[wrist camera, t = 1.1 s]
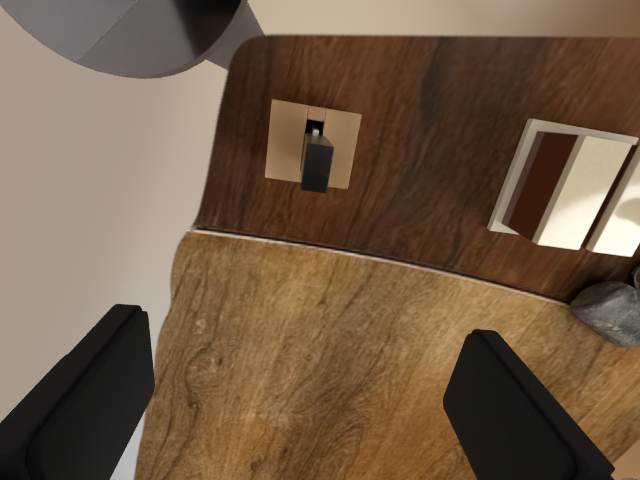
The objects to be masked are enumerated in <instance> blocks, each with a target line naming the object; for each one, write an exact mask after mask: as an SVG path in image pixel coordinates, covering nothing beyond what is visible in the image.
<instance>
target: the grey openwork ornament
mask: <svg viewBox="0 0 640 480" xmlns="http://www.w3.org/2000/svg"><path fill="white" fill-rule="evenodd" d="M631 274H632V279H633V280H634V282H633V284H634V286H635V287H636V289H638V290H640V264H639V265H638V266H637V267H636V268H634V270H633V271H632V273H631Z"/></svg>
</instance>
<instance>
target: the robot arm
mask: <svg viewBox="0 0 640 480" xmlns="http://www.w3.org/2000/svg"><path fill="white" fill-rule="evenodd" d="M154 387H155V380H154V370H153V360H152V350H151V339H150V330H149V319H148V314H147V312H146V311H142V309H141V307H140V306H138V305H125V304H116V305H115V306H113V307H112V308H111V309H110V310H109V311H108V312H107V313H106V314H105V315H104V316H103V318H102V319H101V320H100V321H99V322H98V323H97V324H96V325H95V326H94V327H93V328H92V329H91V330H90V331H89V333H88V334H87V335H86V336H85V337H84V338H83V339H82V340H81V341H80V342H79V343H78V344H77V345H76V347H74V349H73V350H72V351H71V352H70V353H69V354H67V355H65V356H64V357H63V358H62V359H61V360H60V361H59V362H58V363H57V364H56V365H55V366H54V367H53V368H52V369H51V370H50V371H49V372H48V373H47V374H46V375H45V376H44V378H43V379H42V380H41V381H40V382H39V383H38V384H37V385H36V386H35V387H34V388H33V389H32V390H31V391H30V392H29V393H28V394H27V395H26V396H25V397H24V399H23V400H22V401H21V402H20V403H19V404H18V405H17V406H16V407H15V408H14V409H13V410H12V411H11V412H10V413H9V415H7V416H6V418H5V419H4V420H3V421H2V422H1V423H0V480H110V477H111V476H112V474H113V472H114V470H115V468H116V466H117V464H118V462H119V460H120V458H121V456H122V454H123V452H124V450H125V448H126V446H127V444H128V442H129V441H130V439H131V436H132V435H133V433H134V431H135V429H136V427H137V425H138V423H139V421H140V419H141V417H142V415H143V413H144V411H145V409H146V407H147V405H148V403H149V401H150V400H151V397H152V395H153V392H154ZM443 406H444V409H445V412H446V414H447V416H448V418H449V420H450V422H451V425H452V427H453V429H454V431H455V433H456V435H457V437H458V439H459V442H460V444H461V446H462V448H463V450H464V452H465V454H466V456H467V458H468V461H469V463H470V465H471V467H472V469H473V471H474V473H475V475H476V478H477V480H614V479H613V478H612V476H611V474H612V472H613V471H614V470H615V468H614V466H613V465H612V464H611V463H610V462H609V461H608V459H607V458H606V457H605V456H604V455H603V454H602V452H601V451H600V450H599V449H598V448H597V447H596V446H595V444H594V443H593V442H592V441H591V440H590V439H589V437H588V436H587V435H586V434H585V433H584V432H583V431H582V429H581V428H580V427H579V426H578V425H577V424H576V422H575V421H574V420H573V419H572V418H571V417H570V416H569V414H568V413H567V412H566V411H565V410H564V409H563V407H562V406H561V405H560V404H559V403H558V402H557V401H556V399H555V398H554V397H553V396H552V395H551V394H550V392H549V391H548V390H547V389H546V388H545V387H544V386H543V384H542V383H541V382H540V381H539V380H538V379H537V377H536V376H535V375H534V374H533V373H532V372H531V371H530V369H529V368H528V367H527V366H526V365H525V364H524V362H523V361H522V360H521V359H520V358H519V357H518V356H517V354H516V353H515V352H514V351H513V350H512V349H511V347H510V346H509V345H508V344H507V343H506V342H505V341H504V339H503V338H502V337H501V336H500V335H499V334H498V333H497V332H496V331H493V330H480V329H476V330H473V331H472V333H471V334H468V335H467V336H466V339H465V341H464V344H463V347H462V349H461V352H460V354H459V357H458V360H457V362H456V365H455V368H454V370H453V373H452V376H451V378H450V381H449V384H448V386H447V389H446V392H445V394H444V397H443ZM622 480H636V479H633V478H626V479H622Z"/></svg>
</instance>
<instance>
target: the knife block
mask: <svg viewBox="0 0 640 480" xmlns="http://www.w3.org/2000/svg"><path fill="white" fill-rule="evenodd" d="M361 116H362V114H357V113H351V112H345V111H339V110H333V109H327V108H321V107H316V106H308V105H304V104H298V103H292V102H286V101H280V100H274V99H272V103H271V114H270V125H269V137H268V148H267V159H266V170H265V178H272V179H279V180H286V181H293V182H300V183H301V164H302V151H303V144H304V136H305V128H306V121H307V119H309V120H315V121H320V123H319V129H318V130H319V134H318V135H323V136H326V138H327V139H328V140H329V141H330V143H331V144H332V145H333V146H334V154H333V159H332V165H331V171H330V177H329V183H328V187H335V188H342V189H348V184H349V179H350V174H351V168H352V163H353V158H354V153H355V147H356V142H357V137H358V132H359V127H360V121H361Z"/></svg>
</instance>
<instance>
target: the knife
mask: <svg viewBox="0 0 640 480" xmlns="http://www.w3.org/2000/svg"><path fill="white" fill-rule="evenodd" d="M318 134H319V130H318V129H317V127H316V126H315V124H313V123H310V128H309V133H306V134H305V141H304V149H303V157H302V164H301V190H305V191H312V192H319V193H327V189H328V183H329V177H330V171H331V165H332V159H333V154H334V146H333V145H332V144H331V143H330V141H329V140H328V139H327V138H326V136H323V135H318Z"/></svg>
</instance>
